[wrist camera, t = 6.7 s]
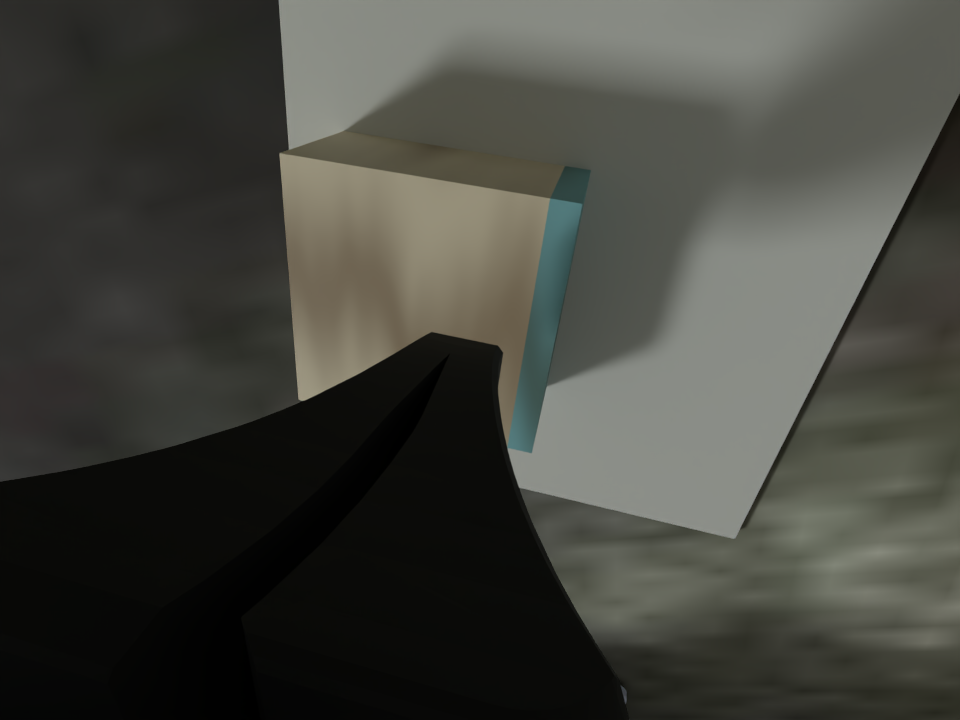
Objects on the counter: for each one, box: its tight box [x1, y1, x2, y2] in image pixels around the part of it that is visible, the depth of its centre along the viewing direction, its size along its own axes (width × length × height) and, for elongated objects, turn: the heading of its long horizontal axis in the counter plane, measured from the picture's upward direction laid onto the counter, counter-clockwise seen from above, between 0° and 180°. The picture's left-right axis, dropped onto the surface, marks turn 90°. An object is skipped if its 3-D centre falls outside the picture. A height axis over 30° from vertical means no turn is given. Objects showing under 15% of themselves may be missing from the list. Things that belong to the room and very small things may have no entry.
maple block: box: [280, 131, 591, 453], centre depth 13 cm, size 6×3×6 cm
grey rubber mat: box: [279, 0, 960, 539], centre depth 15 cm, size 14×14×1 cm
